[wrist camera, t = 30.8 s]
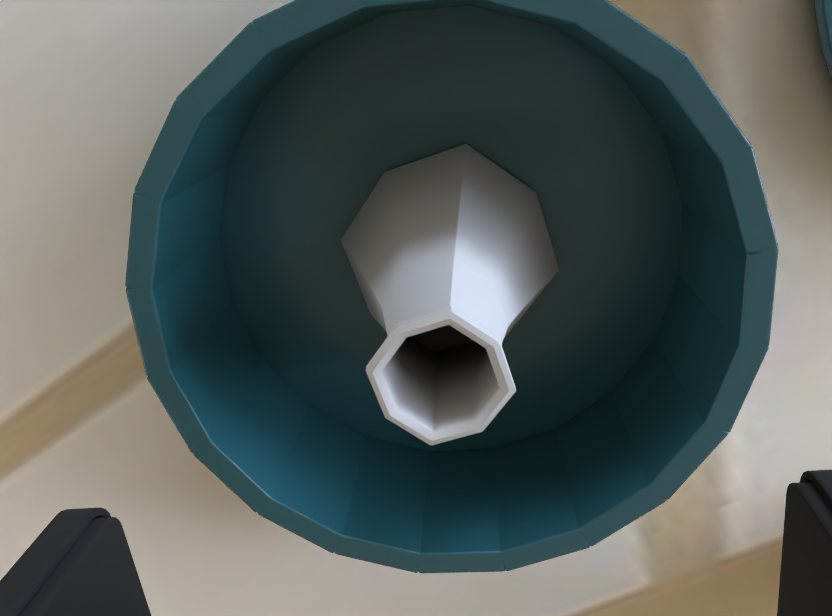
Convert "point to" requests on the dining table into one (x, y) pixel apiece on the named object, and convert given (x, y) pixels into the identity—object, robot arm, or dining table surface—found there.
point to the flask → (447, 287)
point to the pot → (529, 339)
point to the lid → (825, 29)
